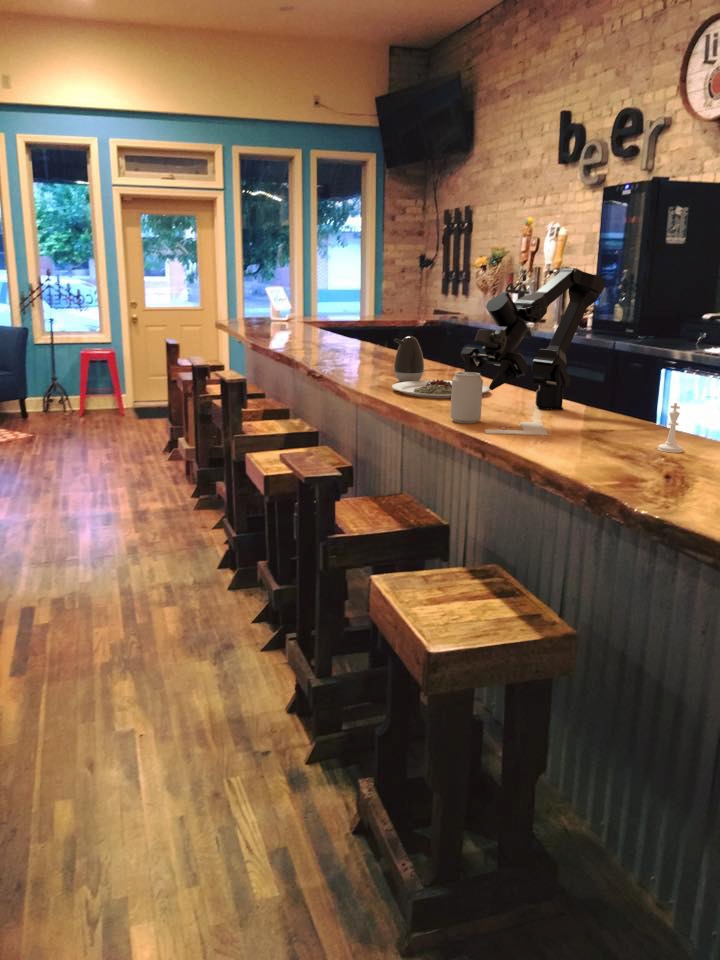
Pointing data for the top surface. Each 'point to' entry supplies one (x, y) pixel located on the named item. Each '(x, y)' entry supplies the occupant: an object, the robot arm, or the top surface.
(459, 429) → the top surface
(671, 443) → the chess piece
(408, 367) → the pump dispenser
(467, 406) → the can
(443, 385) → the plated food
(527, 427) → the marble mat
